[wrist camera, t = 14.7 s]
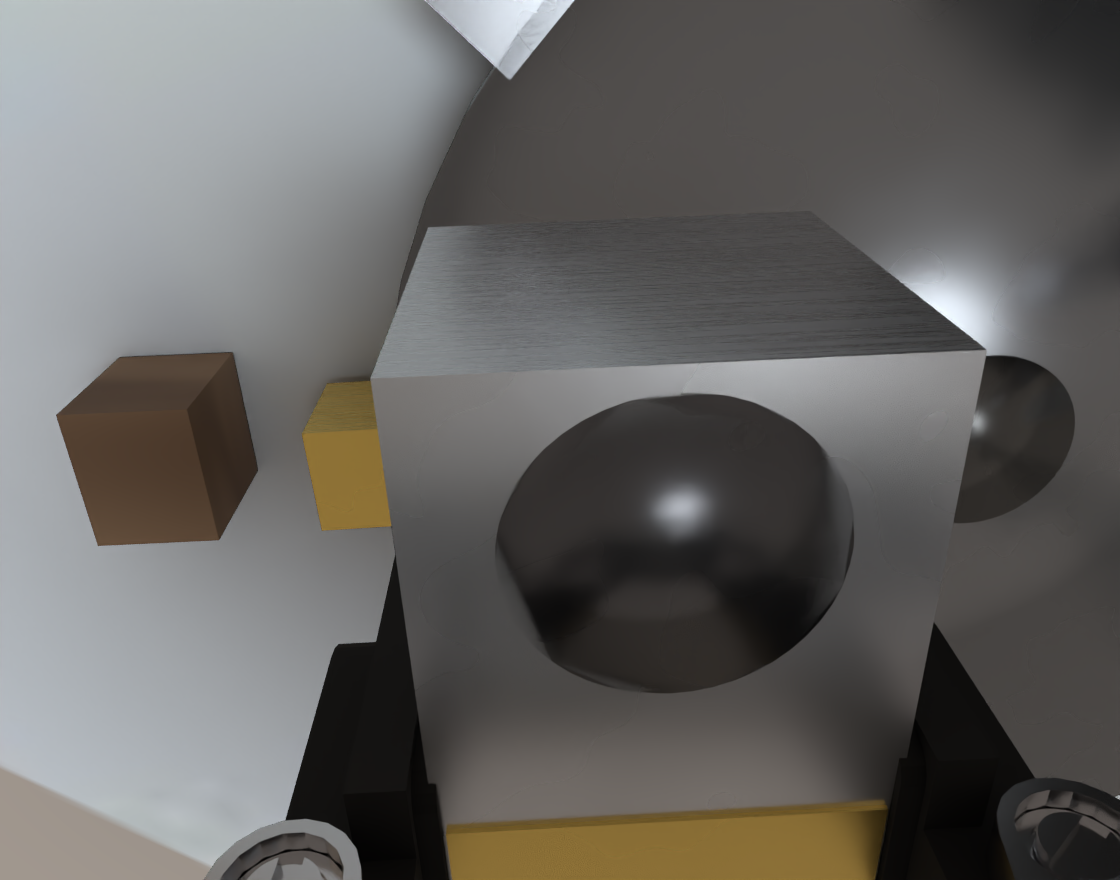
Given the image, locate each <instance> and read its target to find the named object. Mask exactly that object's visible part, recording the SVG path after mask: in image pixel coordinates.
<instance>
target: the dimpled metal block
mask: <svg viewBox="0 0 1120 880" xmlns="http://www.w3.org/2000/svg"><path fill="white" fill-rule="evenodd" d="M986 354H987V349H985V348H984V347H983V346H982V345H980V344H979V343H978V342H977V341H975V340H974V339H973V338H971V337H970V336H969V335H968V334H966V333H965V332H964V331H963V330H961V329H960V328H959V327H957V326H956V325H955V324H954V323H952V322H951V321H950V320H949V319H947V318H946V317H945V316H943V315H942V314H941V313H940V312H938V311H937V310H936V309H935V308H933V307H932V306H931V305H929V304H928V303H927V302H926V301H924V300H923V299H922V298H920V297H919V296H918V295H917V294H915V293H914V292H913V291H912V290H910V289H909V288H908V287H906V286H905V285H904V284H903V283H901V282H900V281H899V280H898V279H896V278H895V277H894V276H892V275H891V274H890V273H889V272H887V271H886V270H885V269H884V268H882V267H881V266H880V265H878V264H877V263H876V262H875V261H873V260H872V259H871V258H870V257H868V256H867V255H866V254H864V253H863V252H862V251H861V250H859V249H858V248H857V247H856V246H854V245H853V244H852V243H850V242H849V241H848V240H847V239H845V238H844V237H843V236H842V235H840V234H839V233H838V232H836V231H835V230H834V229H833V228H831V227H830V226H829V225H828V224H826V223H825V222H824V221H822V220H821V219H820V218H819V217H817V216H816V215H815V214H814V213H812V212H811V211H793V212H770V213H747V214H724V215H701V216H678V217H655V218H632V219H609V220H586V221H563V222H540V223H517V224H494V225H471V226H448V227H428V229H427V232H426V235H425V237H424V240H423V242H422V245H421V248H420V250H419V253H418V256H417V258H416V261H415V263H414V266H413V269H412V271H411V274H410V276H409V279H408V282H407V284H406V287H405V289H404V292H403V295H402V297H401V300H400V303H399V305H398V308H397V310H396V313H395V316H394V318H393V321H392V323H391V326H390V329H389V331H388V334H387V336H386V339H385V342H384V344H383V347H382V350H381V352H380V355H379V357H378V360H377V363H376V365H375V368H374V370H373V373H372V376H371V378H370V380H371V387H372V394H373V401H374V408H375V415H376V422H377V429H378V436H379V443H380V450H381V457H382V464H383V471H384V478H385V485H386V492H387V499H388V506H389V513H390V520H391V527H392V534H393V541H394V548H395V555H396V562H397V569H398V576H399V583H400V590H401V597H402V604H403V611H404V618H405V625H406V632H407V639H408V646H409V653H410V660H411V667H412V674H413V681H414V688H415V695H416V702H417V709H418V716H419V724H420V731H421V738H422V745H423V752H424V759H425V766H426V773H427V780H428V784H436V788H437V795H438V802H439V809H440V817H441V824H442V831H443V839H444V846H445V853H446V861H447V868H448V875H449V880H876V877H877V872H878V867H879V862H880V856H881V851H882V846H883V841H884V836H885V830H886V825H887V820H888V815H889V809H890V804H891V799H892V794H893V789H894V783H895V778H896V773H897V768H898V763H899V758H907V754H908V749H909V744H910V739H911V734H912V729H913V724H914V719H915V714H916V709H917V704H918V699H919V694H920V688H921V683H922V678H923V673H924V668H925V663H926V658H927V653H928V648H929V643H930V638H931V633H932V628H933V622H934V617H935V612H936V607H937V602H938V597H939V592H940V587H941V582H942V577H943V572H944V567H945V562H946V557H947V551H948V546H949V541H950V536H951V531H952V526H953V521H954V516H955V511H956V506H957V501H958V496H959V491H960V485H961V480H962V475H963V470H964V465H965V460H966V455H967V450H968V445H969V440H970V435H971V430H972V425H973V420H974V414H975V409H976V404H977V399H978V394H979V389H980V384H981V379H982V374H983V369H984V364H985V359H986Z"/></svg>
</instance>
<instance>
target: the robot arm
mask: <svg viewBox="0 0 1120 880" xmlns="http://www.w3.org/2000/svg"><path fill="white" fill-rule="evenodd" d="M204 880H449V875H448V868H447V861H446V853H445V846H444V839H443V831H442V824H441V817H440V809H439V802H438V795H437V788H436V784H428V780H427V773H426V766H425V759H424V752H423V745H422V738H421V731H420V724H419V716H418V709H417V702H416V695H415V688H414V681H413V674H412V667H411V660H410V653H409V646H408V639H407V632H406V625H405V618H404V611H403V604H402V597H401V590H400V583H399V576H398V569H397V562H396V555H395V559H394V563H393V568H392V572H391V577H390V582H389V586H388V591H387V595H386V600H385V604H384V609H383V613H382V618H381V622H380V627H379V632H378V636H377V641H376V642H370V643H351V644H338V645H337V646H336V647H335V649H334V652H333V654H332V657H331V660H330V664H329V667H328V671H327V675H326V678H325V682H324V685H323V689H322V692H321V696H320V699H319V703H318V707H317V710H316V714H315V717H314V721H313V724H312V728H311V731H310V735H309V739H308V742H307V746H306V749H305V753H304V756H303V760H302V763H301V767H300V770H299V774H298V778H297V781H296V785H295V788H294V792H293V795H292V799H291V802H290V806H289V810H288V813H287V817H286V820H285V821H281V822H278V823H275V824H272V825H269V826H266V827H263V828H260V829H258V830H256V831H254V832H253V833H251V834H249V835H247V836H246V837H244V838H242V839H241V840H239V841H237V842H236V843H235V844H234V845H233V846H231V847H230V848H229V849H228V850H227V851H226V852H225V853H224V854H223V855H222V856H221V857H220V858H218V859H217V860H216V862H215V863H214V865H213V866H212V868H211V869H210V871H209V872H208V874H207V875H206V877H205V878H204ZM876 880H1120V800H1119V799H1117V798H1115V797H1114V796H1112V795H1111V794H1109V793H1107V792H1104V791H1102V790H1099V789H1097V788H1094V787H1092V786H1089V785H1086V784H1084V783H1081V782H1076V781H1071V780H1066V779H1060V778H1035V777H1034V775H1033V774H1032V772H1031V771H1030V769H1029V768H1028V766H1027V764H1026V763H1025V761H1024V760H1023V758H1022V757H1021V755H1020V754H1019V752H1018V751H1017V749H1016V747H1015V746H1014V744H1013V743H1012V741H1011V740H1010V738H1009V737H1008V735H1007V733H1006V732H1005V730H1004V729H1003V727H1002V726H1001V724H1000V723H999V721H998V720H997V718H996V716H995V715H994V713H993V712H992V710H991V709H990V707H989V706H988V704H987V703H986V701H985V699H984V698H983V696H982V695H981V693H980V692H979V690H978V689H977V687H976V686H975V684H974V682H973V681H972V679H971V678H970V676H969V675H968V673H967V672H966V670H965V668H964V667H963V665H962V664H961V662H960V661H959V659H958V658H957V656H956V655H955V653H954V651H953V650H952V648H951V647H950V645H949V644H948V642H947V641H946V639H945V638H944V636H943V634H942V633H941V631H940V630H939V628H938V627H937V625H936V624H935V623H934V622H933V628H932V633H931V638H930V643H929V648H928V653H927V658H926V663H925V668H924V673H923V678H922V683H921V688H920V694H919V699H918V704H917V709H916V714H915V719H914V724H913V729H912V734H911V739H910V744H909V749H908V754H907V758H899V763H898V768H897V773H896V778H895V783H894V789H893V794H892V799H891V804H890V809H889V815H888V820H887V825H886V830H885V836H884V841H883V846H882V851H881V856H880V862H879V867H878V872H877V877H876Z"/></svg>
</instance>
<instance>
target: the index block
mask: <svg viewBox="0 0 1120 880" xmlns="http://www.w3.org/2000/svg"><path fill="white" fill-rule="evenodd" d="M56 416H57V420H58V423H59V426H60V429H61V432H62V435H63V438H64V441H65V444H66V448H67V451H68V454H69V457H70V460H71V463H72V466H73V469H74V472H75V476H76V479H77V482H78V485H79V488H80V491H81V494H82V497H83V500H84V504H85V507H86V510H87V513H88V516H89V519H90V522H91V525H92V528H93V532H94V535H95V538H96V541H97V544H98V546H105V545H126V544H148V543H169V542H190V541H211V540H219V539H220V538H221V536H222V534H223V532H224V530H225V529H226V527H227V525H228V523H229V521H230V520H231V518H232V516H233V514H234V512H235V511H236V509H237V507H238V505H239V503H240V502H241V500H242V498H243V496H244V494H245V493H246V491H247V489H248V487H249V486H250V484H251V482H252V480H253V478H254V477H255V475H256V473H257V471H258V469H257V464H256V459H255V455H254V450H253V445H252V441H251V436H250V431H249V427H248V422H247V418H246V413H245V408H244V404H243V399H242V394H241V390H240V385H239V380H238V376H237V371H236V366H235V362H234V357H233V353H210V354H188V355H165V356H142V357H120V358H118V359H117V360H116V361H115V362H114V363H113V364H112V365H111V366H110V367H109V368H107V369H106V370H105V371H104V372H103V373H102V374H101V375H100V376H99V377H98V378H96V379H95V380H94V381H93V382H92V383H91V384H90V385H89V386H88V387H87V388H85V389H84V390H83V391H82V392H81V393H80V394H79V395H78V396H77V397H76V398H74V399H73V400H72V401H71V402H70V403H69V404H68V405H67V406H66V407H65V408H63V409H62V410H61V411H60V412H59V413H58V414H57V415H56Z"/></svg>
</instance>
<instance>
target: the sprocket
mask: <svg viewBox="0 0 1120 880" xmlns="http://www.w3.org/2000/svg"><path fill="white" fill-rule="evenodd" d="M425 1H426V2H427V3H428V4H429V5H430V6H431V7H432V8H433V9H434V10H435V11H436V12H437V13H438V14H439V15H441V16H442V17H443V18H444V19H445V20H446V21H447V22H448V23H449V24H450V25H451V26H452V27H453V28H454V29H455V30H457V31H458V32H459V33H460V34H461V35H462V36H463V37H464V38H465V39H466V40H467V41H468V42H469V43H470V44H471V45H472V46H474V47H475V48H476V49H477V50H478V51H479V52H480V53H481V54H482V55H483V56H484V57H485V58H486V59H487V60H488V61H490V62H491V63H492V64H493V65H494V66H493V68H492V70H491V71H490V73H489V74H488V76H487V78H486V79H485V81H484V82H483V84H482V85H481V87H480V89H479V90H478V92H477V93H476V95H475V97H474V98H473V100H472V102H471V104H470V106H469V108H468V110H467V112H466V114H465V116H464V118H463V120H462V123H461V125H460V127H459V129H458V131H457V133H456V136H455V138H454V140H453V142H452V144H451V146H450V149H449V151H448V153H447V155H446V157H445V159H444V162H443V164H442V166H441V168H440V170H439V172H438V175H437V177H436V179H435V181H434V183H433V185H432V188H431V190H430V192H429V194H428V196H427V198H426V201H425V204H424V208H423V211H422V214H421V217H420V221H419V224H418V227H417V230H416V234H415V237H414V240H413V244H412V247H411V250H410V253H409V257H408V260H407V263H406V266H405V270H404V273H403V276H402V280H401V284H400V290H399V297H398V303H397V308H398V305H399V303H400V300H401V297H402V295H403V292H404V289H405V287H406V284H407V282H408V279H409V276H410V274H411V271H412V269H413V266H414V263H415V261H416V258H417V256H418V253H419V250H420V248H421V245H422V242H423V240H424V237H425V235H426V232H427V229H428V227H448V226H471V225H494V224H517V223H540V222H563V221H586V220H609V219H632V218H655V217H678V216H701V215H724V214H747V213H770V212H793V211H811V212H812V213H814V214H815V215H816V216H817V217H819V218H820V219H821V220H822V221H824V222H825V223H826V224H828V225H829V226H830V227H831V228H833V229H834V230H835V231H836V232H838V233H839V234H840V235H842V236H843V237H844V238H845V239H847V240H848V241H849V242H850V243H852V244H853V245H854V246H856V247H857V248H858V249H859V250H861V251H862V252H863V253H864V254H866V255H867V256H868V257H870V258H871V259H872V260H873V261H875V262H876V263H877V264H878V265H880V266H881V267H882V268H884V269H885V270H886V271H887V272H889V273H890V274H891V275H892V276H894V277H895V278H896V279H898V280H899V281H900V282H901V283H903V284H904V285H905V286H906V287H908V288H909V289H910V290H912V291H913V292H914V293H915V294H917V295H918V296H919V297H920V298H922V299H923V300H924V301H926V302H927V303H928V304H929V305H931V306H932V307H933V308H935V309H936V310H937V311H938V312H940V313H941V314H942V315H943V316H945V317H946V318H947V319H949V320H950V321H951V322H952V323H954V324H955V325H956V326H957V327H959V328H960V329H961V330H963V331H964V332H965V333H966V334H968V335H969V336H970V337H971V338H973V339H974V340H975V341H977V342H978V343H979V344H980V345H982V346H983V347H984V348H985V349H987V354H986V359H985V364H984V369H983V374H982V379H981V384H980V389H979V394H978V399H977V404H976V409H975V414H974V420H973V425H972V430H971V435H970V440H969V445H968V450H967V455H966V460H965V465H964V470H963V475H962V480H961V485H960V491H959V496H958V501H957V506H956V511H955V516H954V521H953V526H952V531H951V536H950V541H949V546H948V551H947V557H946V562H945V567H944V572H943V577H942V582H941V587H940V592H939V597H938V602H937V607H936V612H935V617H934V623H935V624H936V625H937V627H938V628H939V630H940V631H941V633H942V634H943V636H944V638H945V639H946V641H947V642H948V644H949V645H950V647H951V648H952V650H953V651H954V653H955V655H956V656H957V658H958V659H959V661H960V662H961V664H962V665H963V667H964V668H965V670H966V672H967V673H968V675H969V676H970V678H971V679H972V681H973V682H974V684H975V686H976V687H977V689H978V690H979V692H980V693H981V695H982V696H983V698H984V699H985V701H986V703H987V704H988V706H989V707H990V709H991V710H992V712H993V713H994V715H995V716H996V718H997V720H998V721H999V723H1000V724H1001V726H1002V727H1003V729H1004V730H1005V732H1006V733H1007V735H1008V737H1009V738H1010V740H1011V741H1012V743H1013V744H1014V746H1015V747H1016V749H1017V751H1018V752H1019V754H1020V755H1021V757H1022V758H1023V760H1024V761H1025V763H1026V764H1027V766H1028V768H1029V769H1030V771H1031V772H1032V774H1033V775H1034V777H1035V778H1060V779H1066V780H1071V781H1076V782H1081V783H1084V784H1086V785H1089V786H1092V787H1094V788H1097V789H1099V790H1102V791H1104V792H1107V793H1109V794H1111V795H1112V796H1114V797H1115V796H1117V795H1120V0H425ZM396 310H397V309H396ZM302 437H303V442H304V447H305V452H306V457H307V461H308V466H309V471H310V476H311V481H312V485H313V490H314V495H315V500H316V505H317V510H318V514H319V519H320V524H321V529H322V531H324V530H340V529H356V528H371V527H387V526H391V520H390V513H389V506H388V499H387V492H386V485H385V478H384V471H383V464H382V457H381V450H380V443H379V436H378V429H377V422H376V415H375V408H374V401H373V394H372V387H371V381H359V382H343V383H327V385H326V387H325V389H324V391H323V393H322V395H321V397H320V399H319V401H318V403H317V405H316V407H315V409H314V411H313V413H312V415H311V417H310V419H309V421H308V423H307V425H306V427H305V429H304V431H303V433H302Z"/></svg>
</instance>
